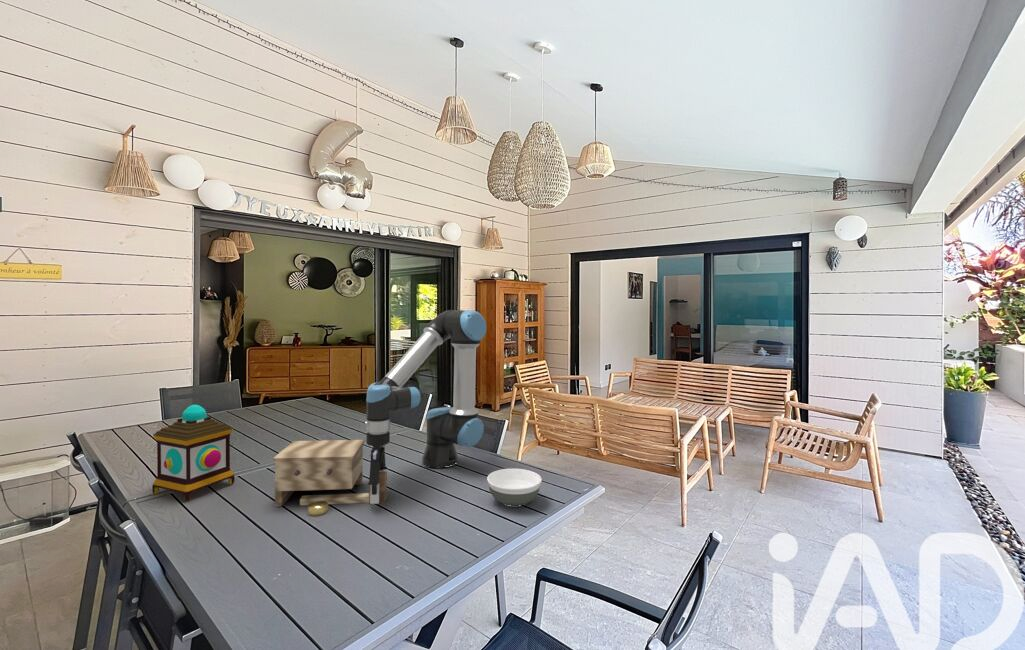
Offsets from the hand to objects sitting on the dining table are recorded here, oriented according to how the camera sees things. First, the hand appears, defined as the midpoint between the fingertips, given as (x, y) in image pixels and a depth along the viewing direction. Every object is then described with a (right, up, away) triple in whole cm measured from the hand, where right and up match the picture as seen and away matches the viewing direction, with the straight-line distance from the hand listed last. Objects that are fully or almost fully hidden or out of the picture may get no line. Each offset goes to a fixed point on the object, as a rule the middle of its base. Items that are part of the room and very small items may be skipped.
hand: (377, 495), depth 152 cm
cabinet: (-21, -1, +4) cm, 21 cm away
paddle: (-11, -1, -2) cm, 11 cm away
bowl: (+46, -3, +1) cm, 46 cm away
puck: (-16, -2, -9) cm, 19 cm away
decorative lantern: (-66, 0, +6) cm, 67 cm away
